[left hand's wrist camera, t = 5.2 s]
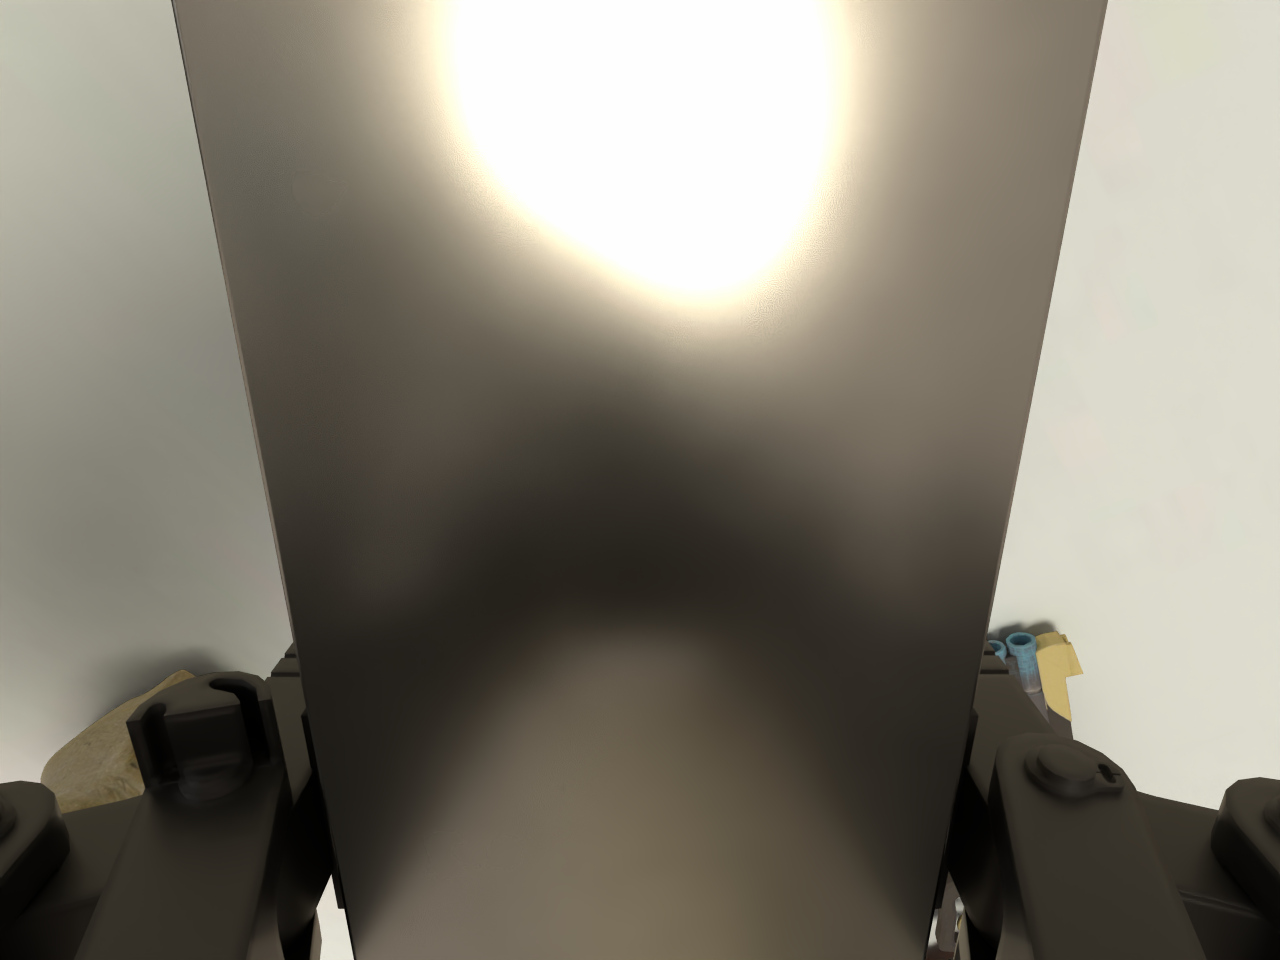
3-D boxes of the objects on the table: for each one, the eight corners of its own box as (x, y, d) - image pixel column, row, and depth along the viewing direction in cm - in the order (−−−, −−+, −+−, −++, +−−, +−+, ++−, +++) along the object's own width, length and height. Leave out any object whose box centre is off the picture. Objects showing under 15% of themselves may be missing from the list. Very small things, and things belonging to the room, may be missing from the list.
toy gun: (899, 1073, 33) (1155, 1055, 31) (788, 704, 28) (1088, 649, 26) (889, 1012, 36) (1125, 990, 34) (785, 662, 30) (1058, 609, 28)
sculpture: (53, 719, 30) (-472, 1209, 16) (186, 626, 28) (-263, 1076, 14) (169, 817, 31) (-211, 1336, 17) (300, 734, 30) (0, 1230, 16)
